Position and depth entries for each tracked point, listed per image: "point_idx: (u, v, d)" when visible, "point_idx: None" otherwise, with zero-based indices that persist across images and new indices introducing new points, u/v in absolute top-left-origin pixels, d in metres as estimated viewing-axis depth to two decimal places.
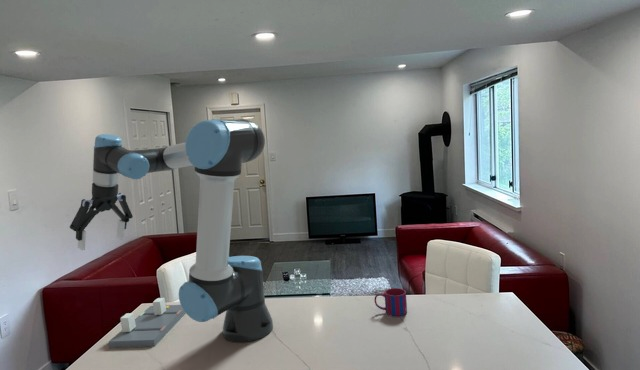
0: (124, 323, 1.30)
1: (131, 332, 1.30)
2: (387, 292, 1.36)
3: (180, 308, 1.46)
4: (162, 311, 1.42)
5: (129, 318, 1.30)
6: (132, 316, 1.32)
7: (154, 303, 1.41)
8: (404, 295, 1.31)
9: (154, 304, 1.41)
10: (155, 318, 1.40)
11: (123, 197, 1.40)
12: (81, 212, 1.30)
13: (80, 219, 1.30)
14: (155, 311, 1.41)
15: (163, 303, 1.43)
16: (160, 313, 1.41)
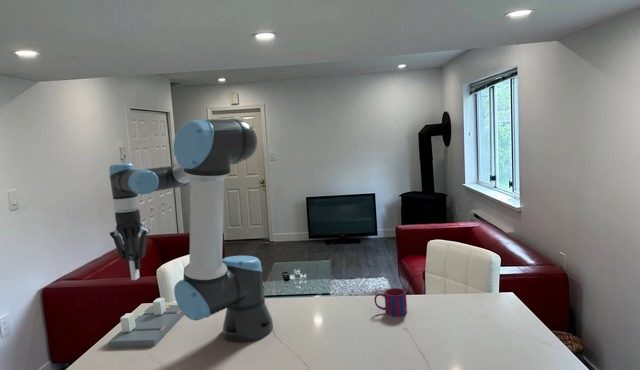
0: (124, 323, 1.30)
1: (131, 332, 1.30)
2: (387, 292, 1.36)
3: None
4: (162, 311, 1.42)
5: (129, 318, 1.30)
6: (132, 316, 1.32)
7: (154, 303, 1.41)
8: (404, 295, 1.31)
9: (154, 304, 1.41)
10: (155, 318, 1.40)
11: (143, 232, 1.39)
12: None
13: (118, 248, 1.40)
14: (155, 311, 1.41)
15: (163, 303, 1.43)
16: (160, 313, 1.41)
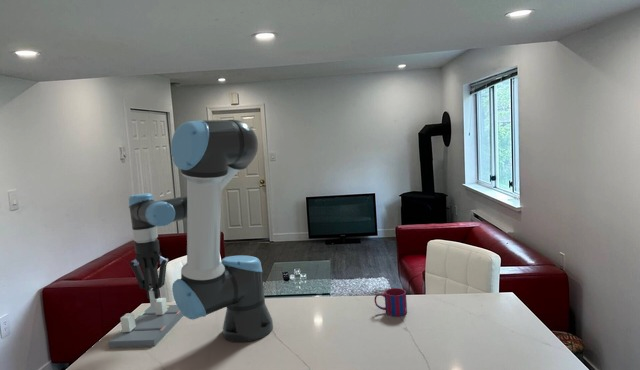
0: (124, 323, 1.30)
1: (131, 332, 1.30)
2: (387, 292, 1.36)
3: None
4: (163, 311, 1.42)
5: (129, 318, 1.30)
6: (132, 316, 1.32)
7: (156, 303, 1.41)
8: (404, 295, 1.31)
9: (155, 304, 1.41)
10: (155, 318, 1.40)
11: (163, 261, 1.39)
12: None
13: (137, 278, 1.41)
14: (156, 311, 1.41)
15: (164, 303, 1.43)
16: (161, 313, 1.41)
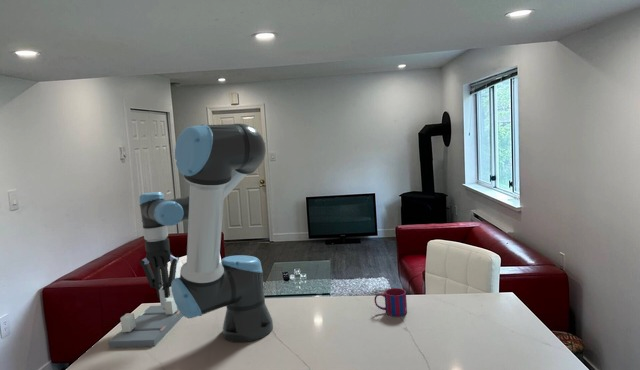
0: (124, 323, 1.30)
1: (131, 332, 1.30)
2: (387, 292, 1.36)
3: None
4: (173, 311, 1.42)
5: (129, 318, 1.30)
6: (132, 316, 1.32)
7: (166, 303, 1.41)
8: (404, 295, 1.31)
9: (165, 304, 1.41)
10: (155, 318, 1.40)
11: (173, 260, 1.39)
12: None
13: (147, 277, 1.41)
14: (166, 311, 1.41)
15: (174, 303, 1.43)
16: (171, 313, 1.41)
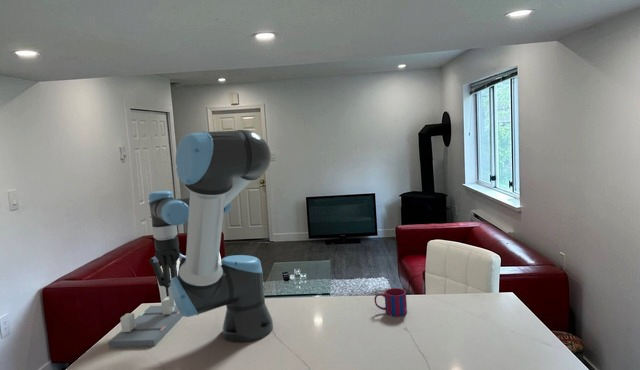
0: (124, 323, 1.30)
1: (131, 332, 1.30)
2: (387, 292, 1.36)
3: None
4: (170, 311, 1.42)
5: (129, 318, 1.30)
6: (132, 316, 1.32)
7: (163, 303, 1.41)
8: (404, 295, 1.31)
9: (163, 304, 1.41)
10: (155, 318, 1.40)
11: (182, 259, 1.39)
12: None
13: (157, 275, 1.41)
14: (163, 311, 1.41)
15: None
16: (169, 313, 1.41)
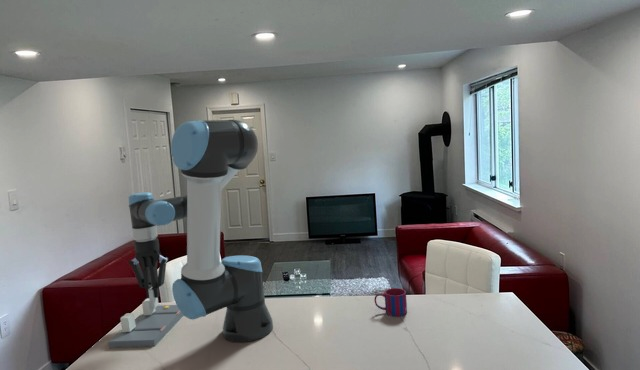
0: (124, 323, 1.30)
1: (131, 332, 1.30)
2: (387, 292, 1.36)
3: None
4: (151, 311, 1.42)
5: (129, 318, 1.30)
6: (132, 316, 1.32)
7: (144, 304, 1.41)
8: (404, 295, 1.31)
9: (143, 304, 1.41)
10: (155, 318, 1.40)
11: (162, 260, 1.40)
12: None
13: (137, 277, 1.41)
14: (144, 312, 1.42)
15: None
16: (149, 313, 1.42)
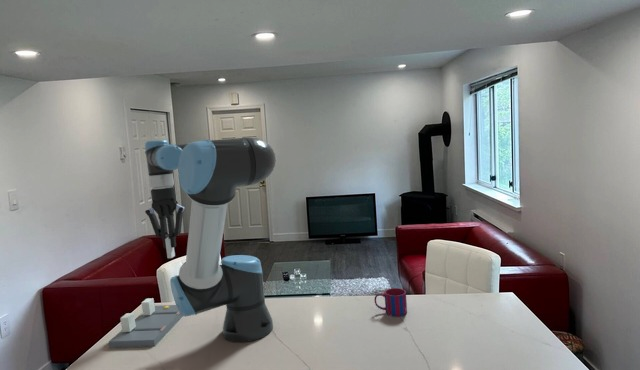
0: (124, 323, 1.30)
1: (131, 332, 1.30)
2: (387, 292, 1.36)
3: None
4: (151, 311, 1.42)
5: (129, 318, 1.30)
6: (132, 316, 1.32)
7: (143, 304, 1.41)
8: (404, 295, 1.31)
9: (143, 304, 1.41)
10: (155, 318, 1.40)
11: (179, 209, 1.38)
12: None
13: (153, 226, 1.39)
14: (144, 312, 1.42)
15: (152, 303, 1.44)
16: (149, 313, 1.42)
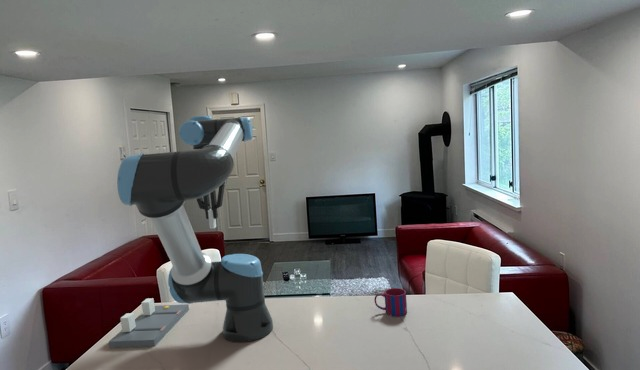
0: (124, 323, 1.30)
1: (131, 332, 1.30)
2: (387, 292, 1.36)
3: (180, 308, 1.46)
4: (151, 311, 1.42)
5: (129, 318, 1.30)
6: (132, 316, 1.32)
7: (143, 304, 1.41)
8: (404, 295, 1.31)
9: (143, 304, 1.41)
10: (155, 318, 1.40)
11: None
12: None
13: None
14: (144, 312, 1.42)
15: (152, 303, 1.44)
16: (149, 313, 1.42)
